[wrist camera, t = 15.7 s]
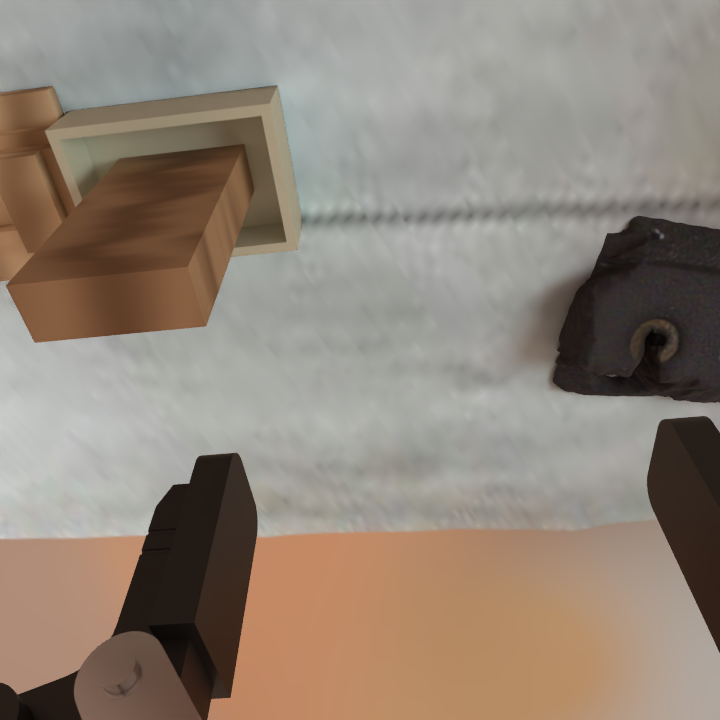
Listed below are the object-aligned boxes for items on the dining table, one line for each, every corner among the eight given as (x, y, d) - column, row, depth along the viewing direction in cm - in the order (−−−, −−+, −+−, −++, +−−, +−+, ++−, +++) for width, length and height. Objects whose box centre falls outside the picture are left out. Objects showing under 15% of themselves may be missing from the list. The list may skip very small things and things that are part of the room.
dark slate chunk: (781, 411, 55) (812, 451, 51) (534, 379, 53) (547, 417, 49) (898, 252, 46) (947, 285, 42) (606, 205, 44) (629, 235, 40)
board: (244, 143, 40) (187, 266, 27) (254, 190, 41) (205, 326, 29) (119, 158, 40) (5, 285, 27) (135, 203, 42) (34, 342, 29)
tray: (277, 85, 39) (269, 103, 35) (302, 223, 44) (297, 249, 41) (70, 110, 40) (44, 130, 36) (119, 242, 45) (100, 270, 42)
